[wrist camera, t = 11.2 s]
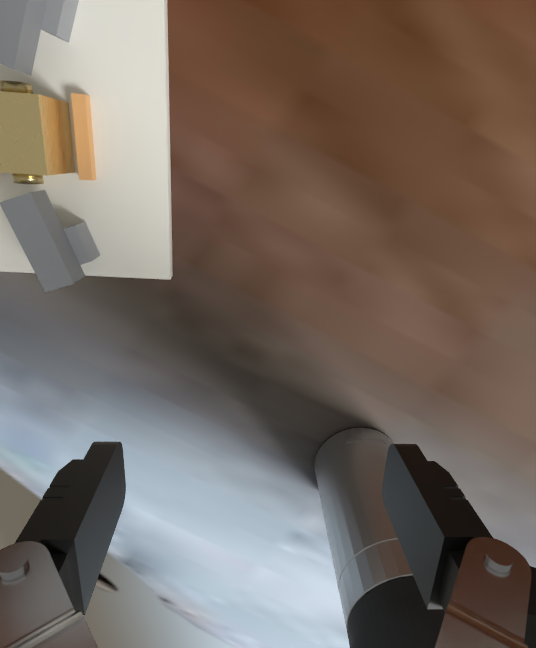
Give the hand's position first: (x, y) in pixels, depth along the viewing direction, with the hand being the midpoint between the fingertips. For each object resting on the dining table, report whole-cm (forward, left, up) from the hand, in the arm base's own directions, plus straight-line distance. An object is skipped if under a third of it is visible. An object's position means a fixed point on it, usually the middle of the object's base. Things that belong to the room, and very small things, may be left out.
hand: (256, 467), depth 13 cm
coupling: (+9, +17, -27) cm, 33 cm away
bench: (+9, +17, -28) cm, 34 cm away
